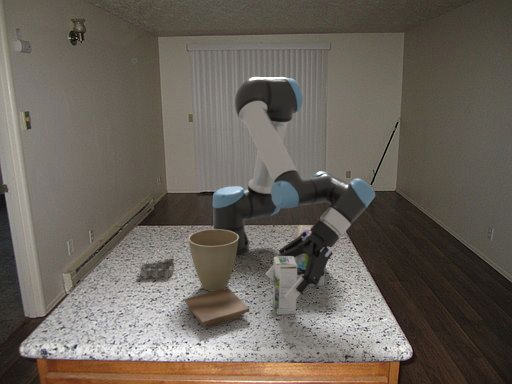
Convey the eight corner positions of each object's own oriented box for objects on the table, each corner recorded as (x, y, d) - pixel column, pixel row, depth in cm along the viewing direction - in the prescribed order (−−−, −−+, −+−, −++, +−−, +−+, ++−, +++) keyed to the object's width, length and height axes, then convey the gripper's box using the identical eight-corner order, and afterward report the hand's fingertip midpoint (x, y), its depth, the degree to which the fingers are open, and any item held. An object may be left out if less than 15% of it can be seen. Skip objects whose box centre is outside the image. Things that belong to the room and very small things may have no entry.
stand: (185, 308, 108) (184, 298, 108) (228, 297, 114) (228, 287, 114) (202, 332, 97) (202, 321, 97) (249, 318, 103) (249, 308, 103)
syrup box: (272, 304, 110) (272, 256, 107) (293, 303, 111) (294, 255, 107) (274, 315, 105) (275, 264, 101) (296, 314, 105) (297, 263, 102)
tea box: (324, 287, 120) (326, 241, 117) (292, 284, 122) (292, 239, 119) (326, 266, 135) (328, 225, 131) (297, 264, 137) (297, 223, 133)
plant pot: (203, 302, 111) (201, 249, 108) (183, 282, 124) (180, 234, 120) (248, 289, 119) (248, 239, 115) (225, 271, 131) (224, 226, 128)
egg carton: (176, 268, 135) (175, 257, 134) (171, 278, 127) (171, 266, 126) (144, 269, 134) (143, 257, 133) (138, 278, 127) (137, 267, 126)
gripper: (364, 252, 97) (307, 318, 95) (316, 223, 120) (270, 276, 118) (346, 234, 94) (287, 302, 93) (301, 207, 117) (253, 262, 116)
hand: (277, 287), depth 105 cm, fingers open, 13 cm apart
